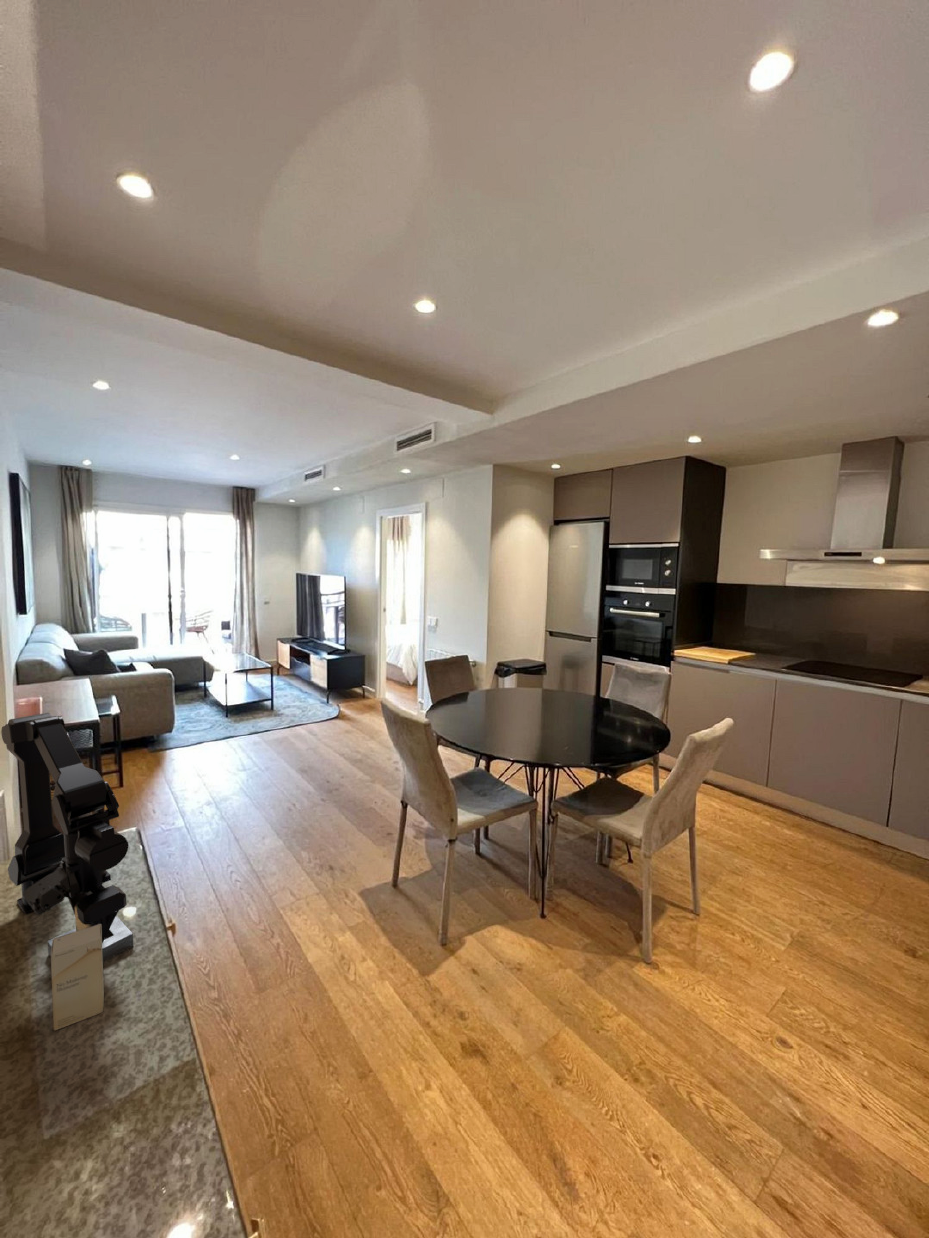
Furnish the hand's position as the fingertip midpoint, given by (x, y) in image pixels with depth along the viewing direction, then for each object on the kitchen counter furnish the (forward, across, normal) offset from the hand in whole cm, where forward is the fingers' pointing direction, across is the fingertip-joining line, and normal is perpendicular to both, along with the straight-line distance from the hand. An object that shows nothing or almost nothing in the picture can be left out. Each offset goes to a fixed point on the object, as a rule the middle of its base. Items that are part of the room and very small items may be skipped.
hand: (90, 932), depth 90 cm
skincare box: (+4, +14, -6) cm, 15 cm away
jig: (+3, 0, 0) cm, 3 cm away
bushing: (+3, 0, 0) cm, 3 cm away
